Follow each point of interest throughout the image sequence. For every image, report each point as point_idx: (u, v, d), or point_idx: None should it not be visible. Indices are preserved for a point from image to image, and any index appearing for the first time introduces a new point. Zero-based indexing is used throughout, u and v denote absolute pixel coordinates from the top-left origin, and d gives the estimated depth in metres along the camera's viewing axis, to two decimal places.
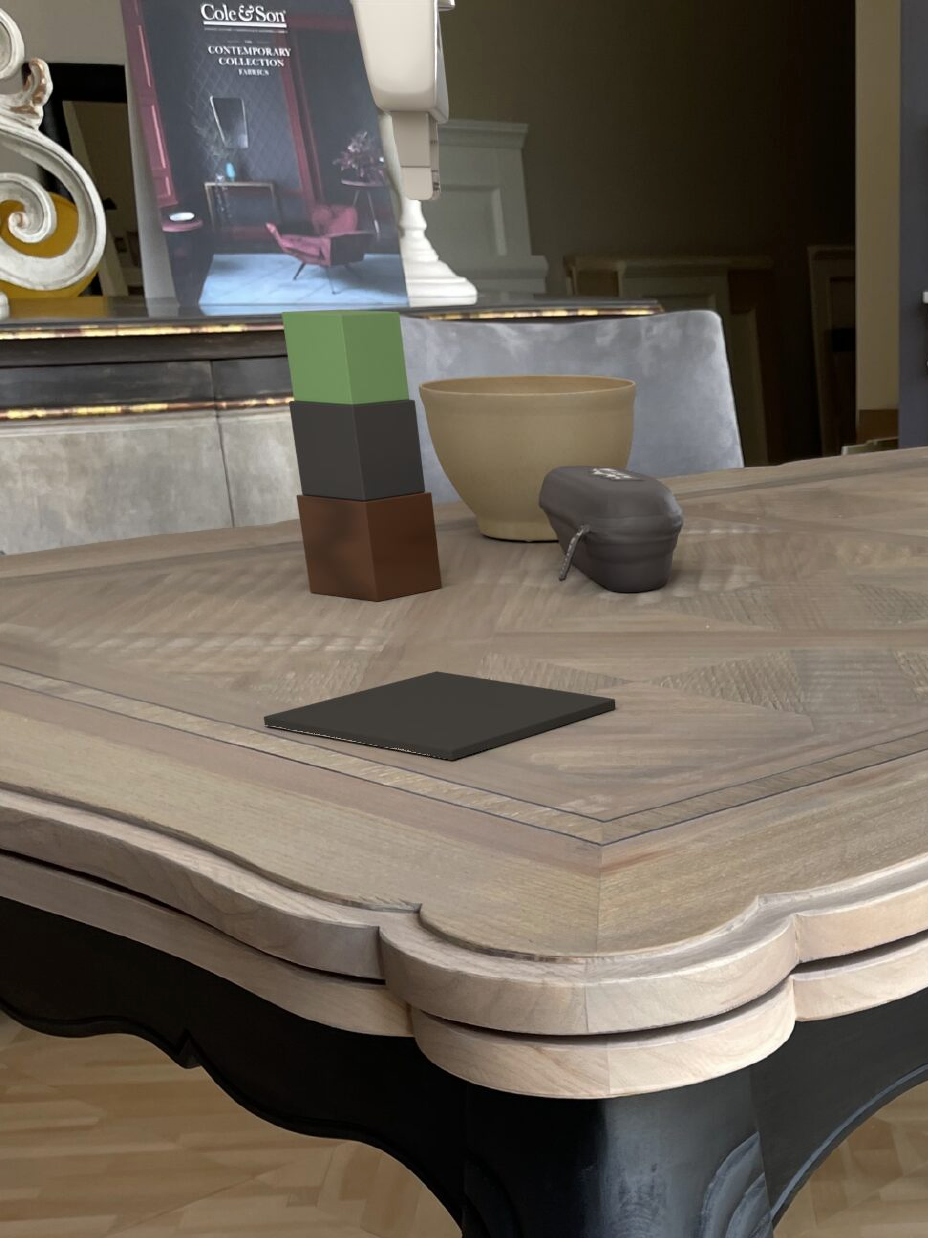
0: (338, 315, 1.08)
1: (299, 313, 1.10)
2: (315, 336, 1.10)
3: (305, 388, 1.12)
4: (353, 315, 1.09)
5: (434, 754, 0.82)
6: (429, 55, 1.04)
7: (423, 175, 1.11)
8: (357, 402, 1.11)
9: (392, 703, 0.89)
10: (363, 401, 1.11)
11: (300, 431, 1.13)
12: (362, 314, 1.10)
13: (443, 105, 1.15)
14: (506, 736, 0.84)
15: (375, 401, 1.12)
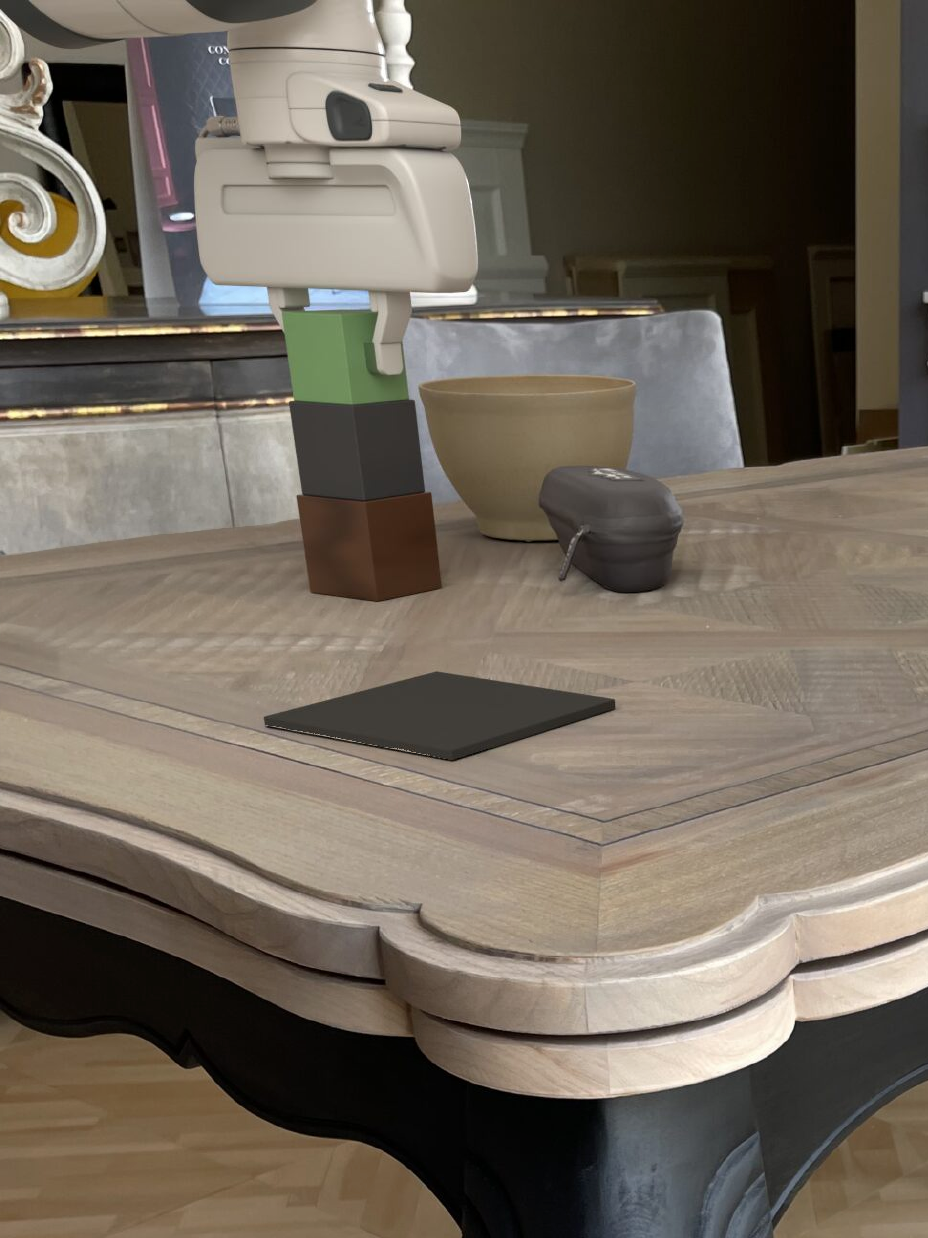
0: (338, 315, 1.08)
1: (299, 313, 1.10)
2: (315, 336, 1.10)
3: (305, 388, 1.12)
4: (353, 315, 1.09)
5: (434, 754, 0.82)
6: (475, 242, 1.06)
7: (396, 351, 1.11)
8: (357, 402, 1.11)
9: (392, 703, 0.89)
10: (363, 401, 1.11)
11: (300, 431, 1.13)
12: (362, 314, 1.10)
13: None
14: (506, 736, 0.84)
15: (375, 401, 1.12)
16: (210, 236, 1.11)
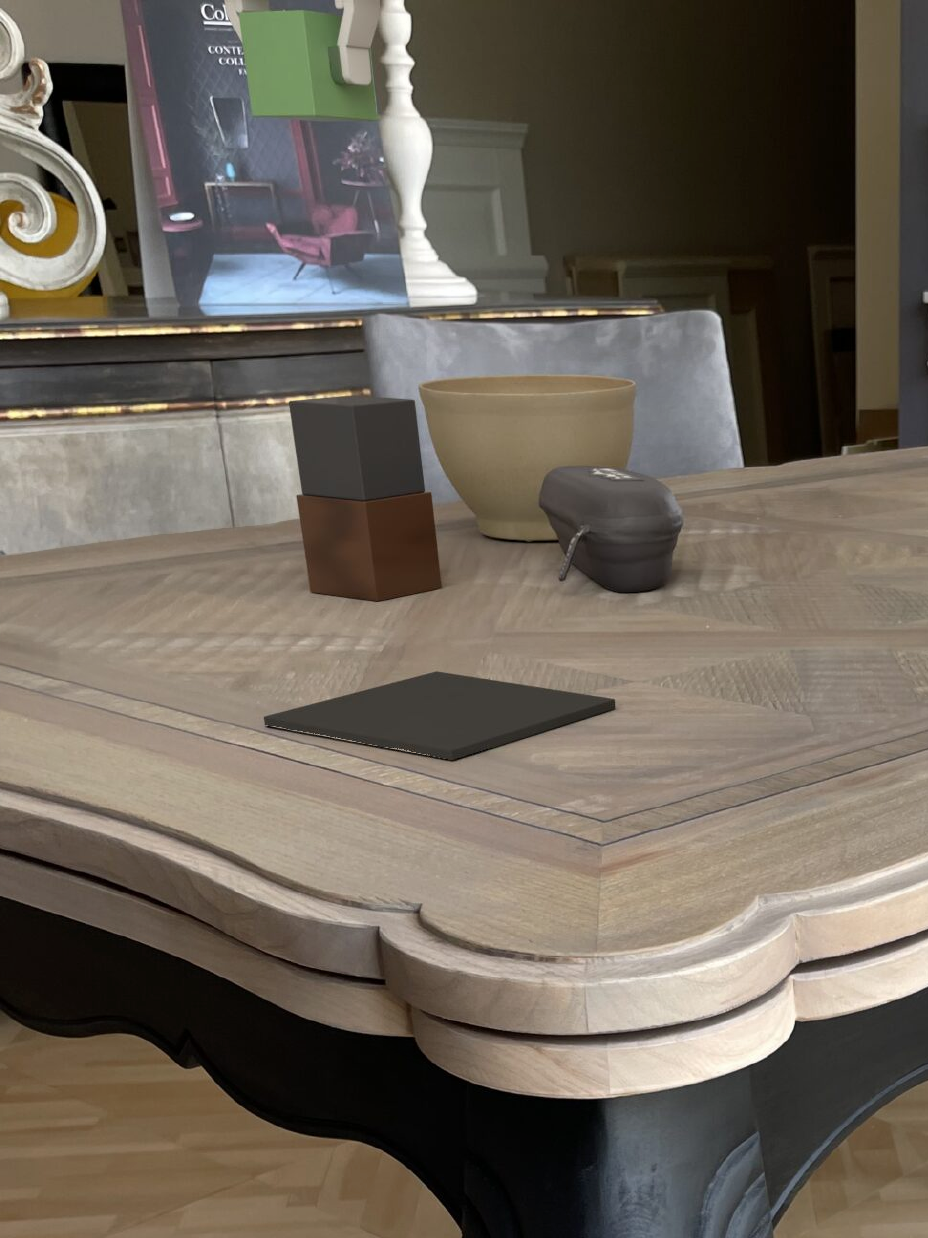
0: (300, 11, 0.99)
1: (257, 13, 1.01)
2: (275, 38, 1.01)
3: (264, 100, 1.03)
4: (316, 13, 1.00)
5: (434, 754, 0.82)
6: None
7: (363, 58, 1.02)
8: (320, 113, 1.02)
9: (392, 703, 0.89)
10: (327, 113, 1.02)
11: (300, 431, 1.13)
12: (326, 14, 1.01)
13: None
14: (506, 736, 0.84)
15: (340, 116, 1.03)
16: None
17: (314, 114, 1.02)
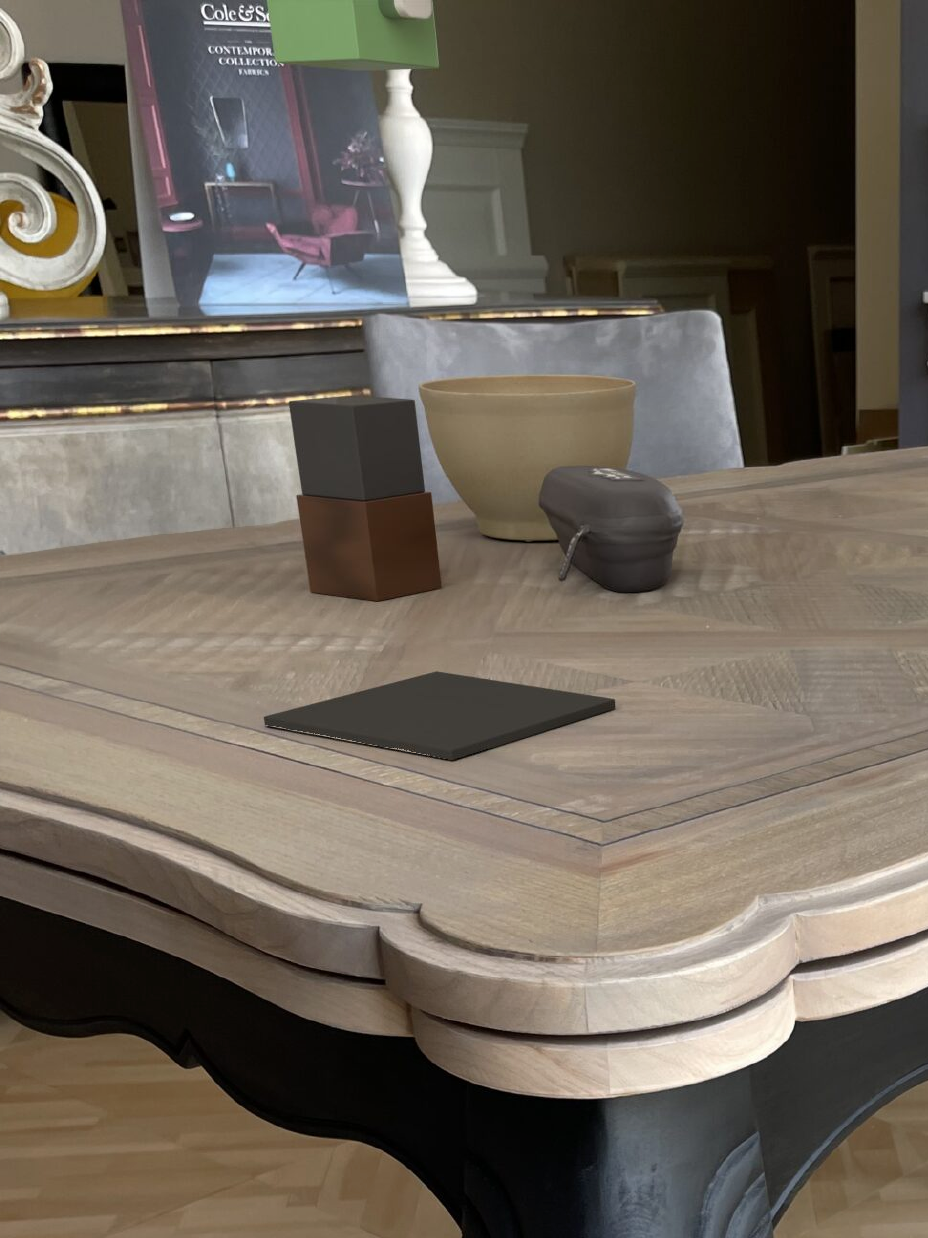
0: None
1: None
2: None
3: (291, 41, 0.78)
4: None
5: (434, 754, 0.82)
6: None
7: None
8: (366, 56, 0.77)
9: (392, 703, 0.89)
10: (375, 57, 0.77)
11: (300, 431, 1.13)
12: None
13: None
14: (506, 736, 0.84)
15: (391, 60, 0.78)
16: None
17: (358, 57, 0.77)
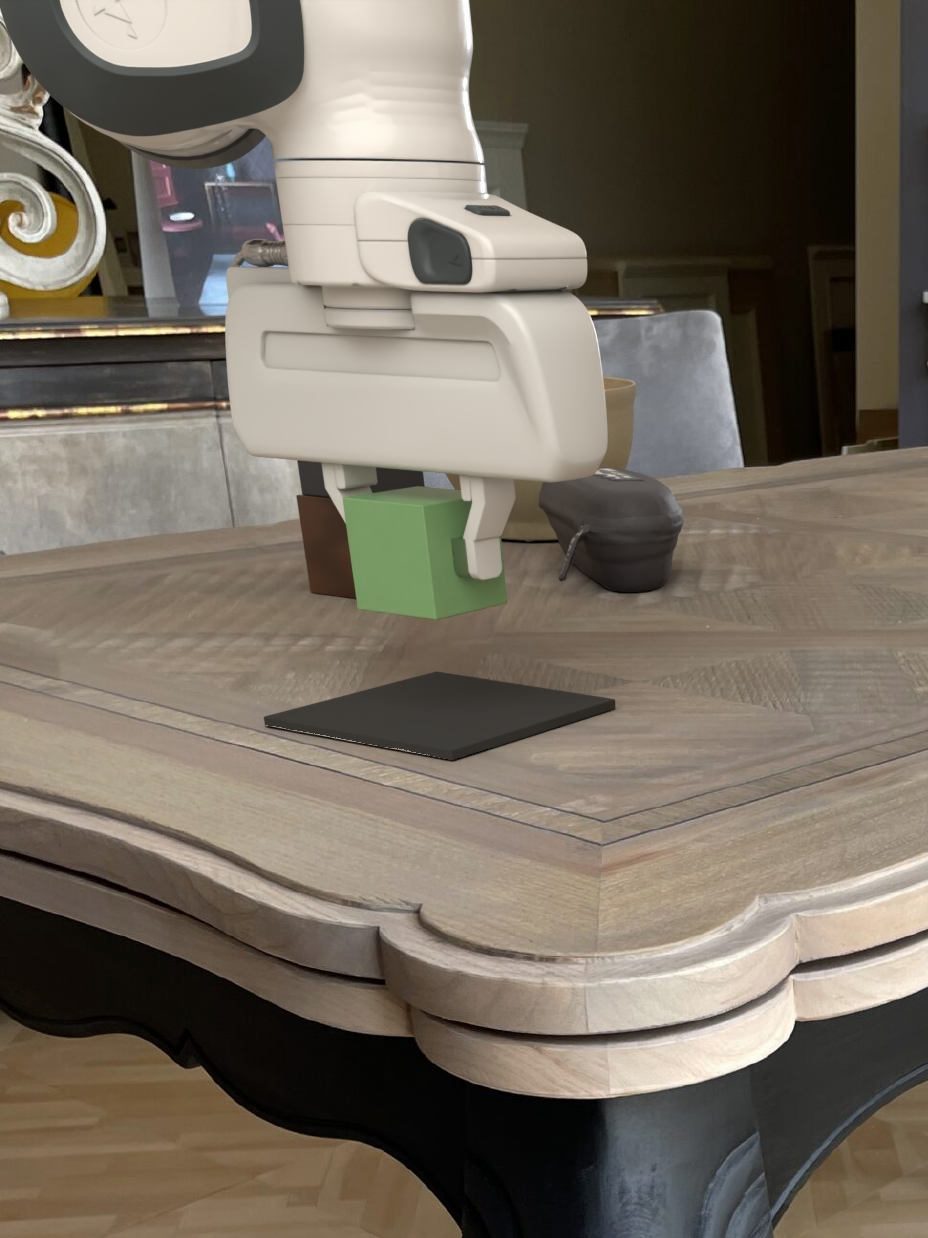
0: (419, 506, 0.81)
1: (366, 500, 0.83)
2: (387, 531, 0.83)
3: (373, 595, 0.85)
4: (439, 504, 0.82)
5: (434, 754, 0.82)
6: (605, 412, 0.79)
7: (493, 548, 0.83)
8: (442, 615, 0.84)
9: (392, 703, 0.89)
10: (450, 613, 0.84)
11: None
12: (450, 501, 0.82)
13: None
14: (506, 736, 0.84)
15: (465, 611, 0.85)
16: (246, 395, 0.84)
17: (435, 618, 0.83)
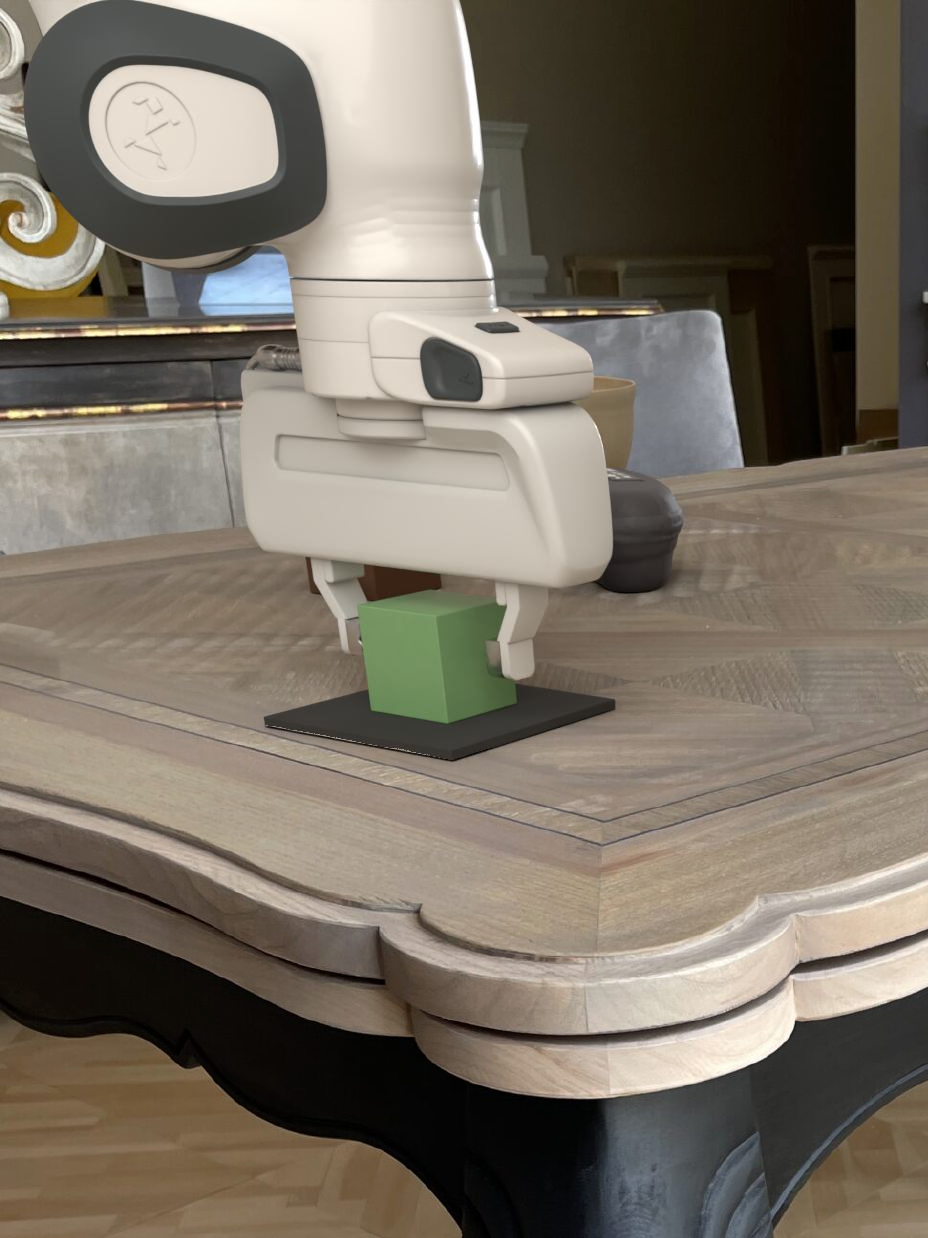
0: (432, 616, 0.83)
1: (380, 608, 0.85)
2: (401, 638, 0.85)
3: (386, 697, 0.87)
4: (451, 613, 0.84)
5: (434, 754, 0.82)
6: (610, 519, 0.81)
7: (526, 648, 0.85)
8: (454, 719, 0.86)
9: None
10: (461, 716, 0.86)
11: None
12: (462, 610, 0.85)
13: None
14: (506, 736, 0.84)
15: (476, 713, 0.87)
16: (259, 494, 0.86)
17: (447, 722, 0.86)
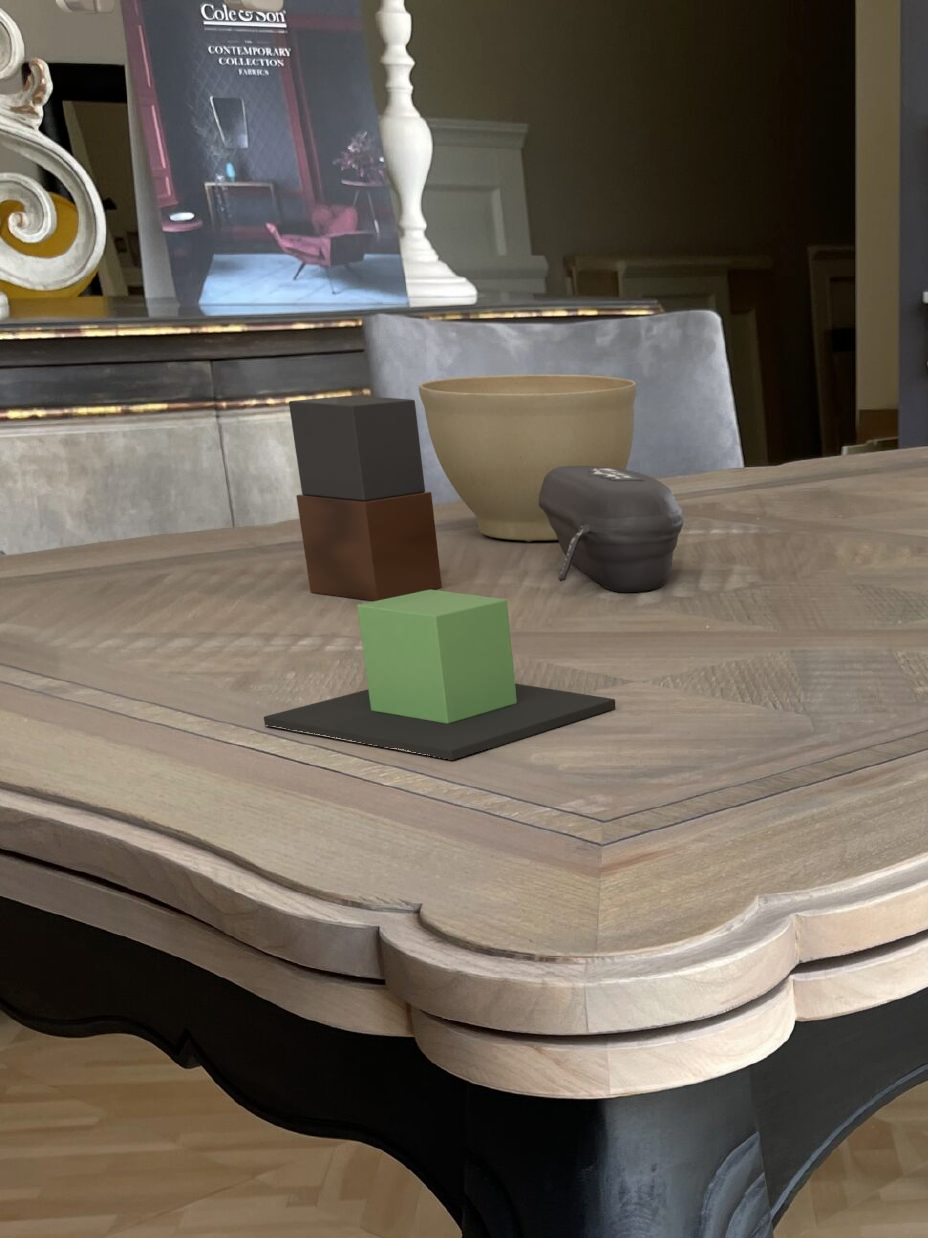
0: (432, 616, 0.83)
1: (380, 608, 0.85)
2: (401, 638, 0.85)
3: (386, 697, 0.87)
4: (451, 613, 0.84)
5: (434, 754, 0.82)
6: None
7: None
8: (454, 719, 0.86)
9: None
10: (461, 716, 0.86)
11: (300, 431, 1.13)
12: (462, 610, 0.85)
13: None
14: (506, 736, 0.84)
15: (476, 713, 0.87)
16: None
17: (447, 722, 0.86)
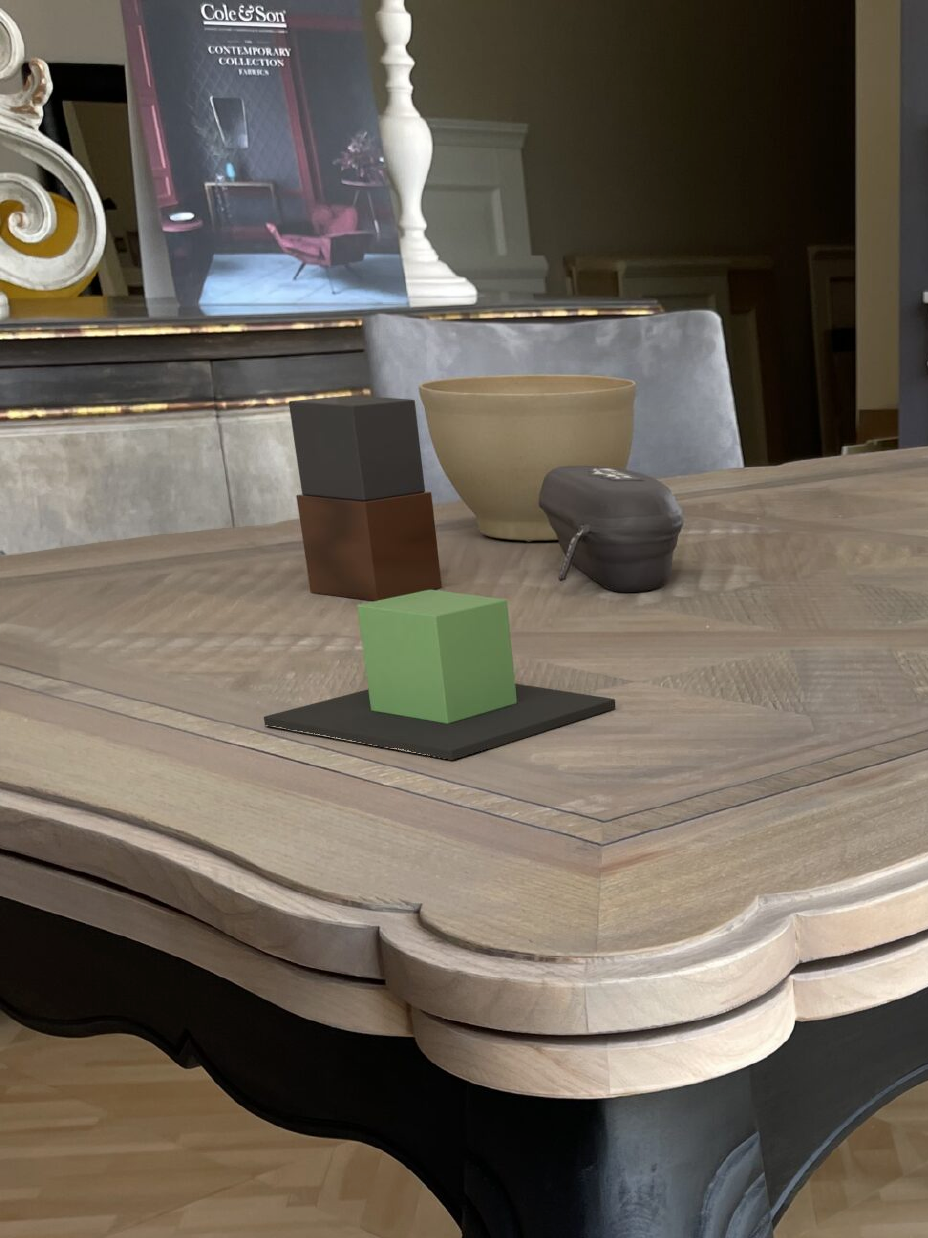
0: (432, 616, 0.83)
1: (380, 608, 0.85)
2: (401, 638, 0.85)
3: (386, 697, 0.87)
4: (451, 613, 0.84)
5: (434, 754, 0.82)
6: None
7: None
8: (454, 719, 0.86)
9: None
10: (461, 716, 0.86)
11: (300, 431, 1.13)
12: (462, 610, 0.85)
13: None
14: (506, 736, 0.84)
15: (476, 713, 0.87)
16: None
17: (447, 722, 0.86)
